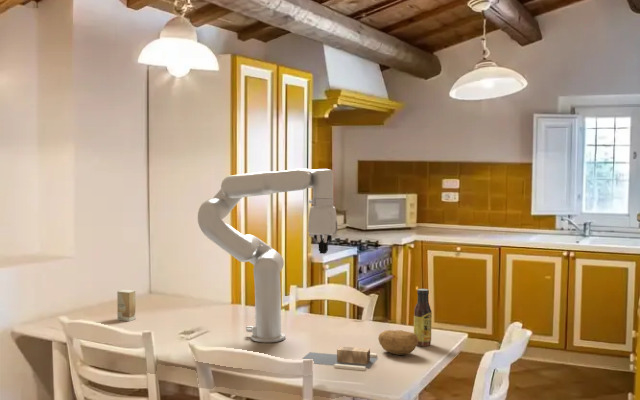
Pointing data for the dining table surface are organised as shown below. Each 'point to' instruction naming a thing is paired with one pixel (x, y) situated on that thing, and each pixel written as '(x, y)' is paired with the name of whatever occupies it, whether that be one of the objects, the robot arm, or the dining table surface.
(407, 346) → the potato
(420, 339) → the sauce bottle
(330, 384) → the dining table surface
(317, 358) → the plate
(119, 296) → the skincare box
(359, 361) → the oak block
